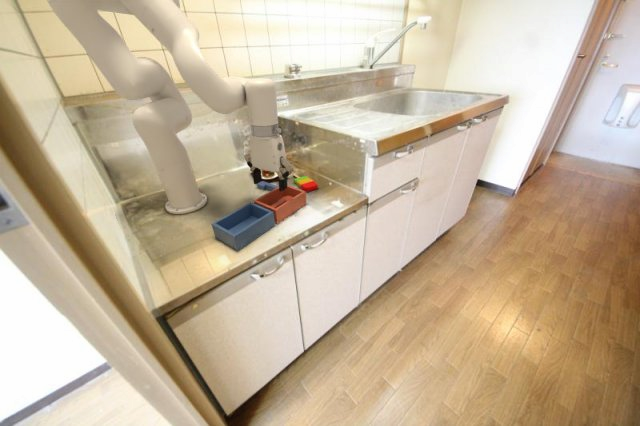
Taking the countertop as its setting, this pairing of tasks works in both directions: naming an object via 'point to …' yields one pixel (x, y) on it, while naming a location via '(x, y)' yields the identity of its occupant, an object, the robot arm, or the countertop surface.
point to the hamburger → (269, 176)
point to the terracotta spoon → (281, 202)
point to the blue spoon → (266, 186)
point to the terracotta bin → (288, 206)
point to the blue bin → (243, 225)
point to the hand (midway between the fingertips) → (270, 186)
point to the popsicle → (305, 183)
